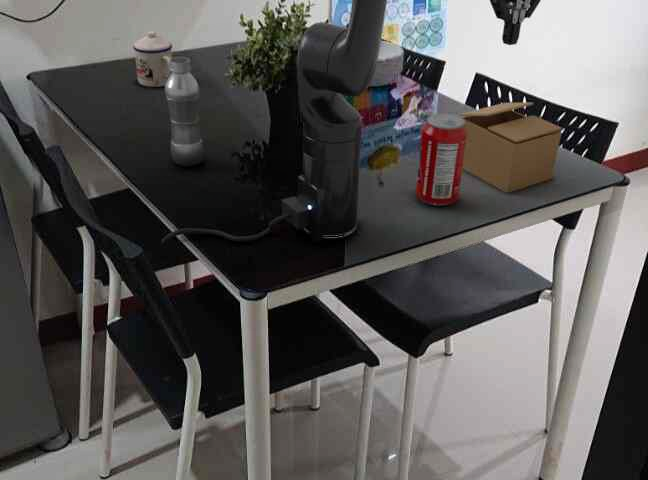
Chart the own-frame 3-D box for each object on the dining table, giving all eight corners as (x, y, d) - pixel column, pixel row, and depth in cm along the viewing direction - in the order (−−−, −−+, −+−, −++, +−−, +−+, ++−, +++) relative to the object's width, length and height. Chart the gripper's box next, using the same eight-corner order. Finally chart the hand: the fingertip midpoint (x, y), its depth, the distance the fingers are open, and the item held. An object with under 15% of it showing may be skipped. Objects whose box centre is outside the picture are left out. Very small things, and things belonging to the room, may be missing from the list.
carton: (453, 163, 155) (460, 113, 149) (497, 151, 161) (505, 102, 155) (506, 193, 145) (516, 140, 139) (551, 178, 151) (562, 127, 145)
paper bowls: (371, 95, 185) (373, 62, 181) (327, 78, 194) (328, 46, 190) (414, 82, 194) (417, 50, 189) (370, 66, 203) (372, 35, 198)
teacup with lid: (129, 80, 190) (123, 31, 183) (161, 72, 195) (156, 24, 188) (158, 94, 183) (153, 43, 176) (189, 85, 188) (186, 35, 181)
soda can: (435, 212, 138) (444, 132, 129) (405, 196, 143) (413, 117, 134) (466, 201, 142) (478, 122, 133) (437, 185, 147) (446, 108, 138)
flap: (460, 115, 149) (460, 113, 149) (505, 104, 155) (505, 102, 155) (487, 116, 143) (487, 113, 143) (533, 104, 149) (533, 102, 149)
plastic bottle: (173, 171, 149) (163, 67, 137) (169, 157, 154) (159, 55, 143) (207, 168, 151) (200, 64, 139) (202, 154, 156) (195, 53, 144)
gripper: (535, -67, 137) (519, 35, 147) (482, -64, 131) (468, 43, 140) (569, -62, 132) (549, 44, 142) (515, -57, 126) (498, 53, 135)
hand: (509, 43), depth 141 cm, fingers closed
